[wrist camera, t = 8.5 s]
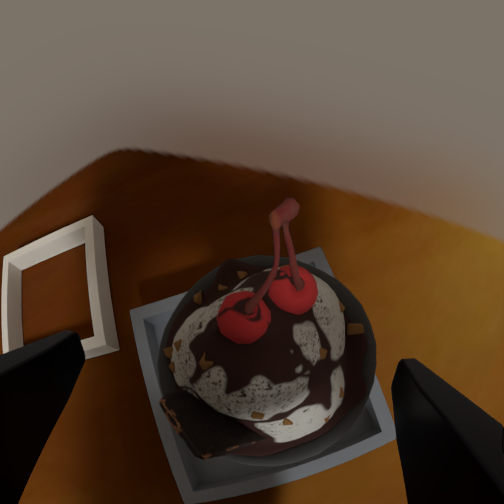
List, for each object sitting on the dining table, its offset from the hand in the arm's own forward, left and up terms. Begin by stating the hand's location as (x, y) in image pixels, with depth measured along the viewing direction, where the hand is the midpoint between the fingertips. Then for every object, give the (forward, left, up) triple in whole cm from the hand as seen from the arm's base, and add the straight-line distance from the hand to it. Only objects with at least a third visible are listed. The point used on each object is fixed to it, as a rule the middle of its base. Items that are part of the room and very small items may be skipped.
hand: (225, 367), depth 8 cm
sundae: (0, -1, -12) cm, 12 cm away
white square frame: (+10, +14, -12) cm, 21 cm away
